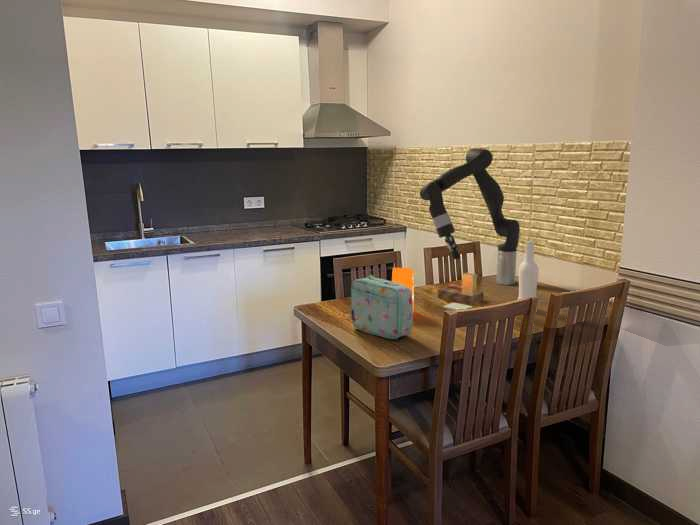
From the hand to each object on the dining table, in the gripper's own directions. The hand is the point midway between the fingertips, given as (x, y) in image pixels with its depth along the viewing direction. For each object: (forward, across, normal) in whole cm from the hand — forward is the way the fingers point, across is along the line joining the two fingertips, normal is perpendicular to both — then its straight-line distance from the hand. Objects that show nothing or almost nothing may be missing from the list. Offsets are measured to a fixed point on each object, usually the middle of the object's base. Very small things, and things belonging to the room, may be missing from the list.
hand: (457, 258), depth 223 cm
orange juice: (+13, -12, +31) cm, 36 cm away
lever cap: (+17, +3, +1) cm, 17 cm away
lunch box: (+14, -36, +41) cm, 56 cm away
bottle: (+31, -5, -19) cm, 37 cm away
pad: (+20, -3, +8) cm, 22 cm away
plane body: (+18, +10, +5) cm, 21 cm away
